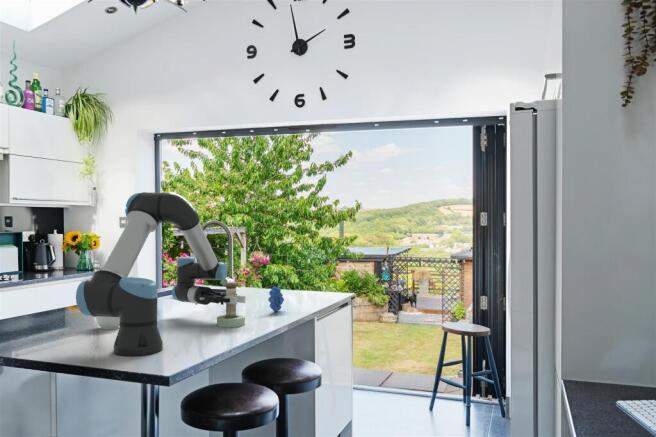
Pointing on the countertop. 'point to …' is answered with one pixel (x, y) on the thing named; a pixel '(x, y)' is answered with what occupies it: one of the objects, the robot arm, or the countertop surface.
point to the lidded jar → (108, 322)
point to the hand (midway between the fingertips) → (240, 300)
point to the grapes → (275, 298)
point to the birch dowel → (230, 307)
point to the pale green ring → (231, 321)
